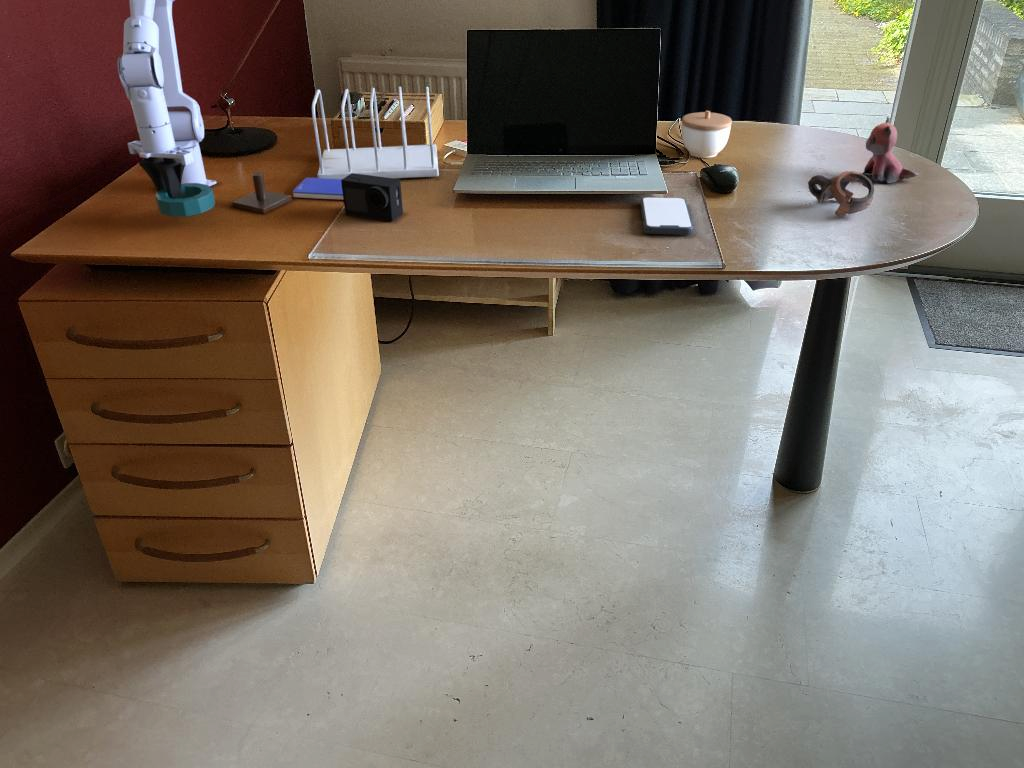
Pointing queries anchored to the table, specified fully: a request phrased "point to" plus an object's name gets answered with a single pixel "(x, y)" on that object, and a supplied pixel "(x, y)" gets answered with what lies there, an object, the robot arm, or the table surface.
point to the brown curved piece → (841, 191)
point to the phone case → (666, 216)
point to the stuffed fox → (885, 155)
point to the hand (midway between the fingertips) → (170, 195)
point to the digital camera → (372, 197)
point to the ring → (186, 200)
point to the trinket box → (705, 133)
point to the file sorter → (375, 150)
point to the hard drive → (319, 189)
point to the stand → (261, 197)
